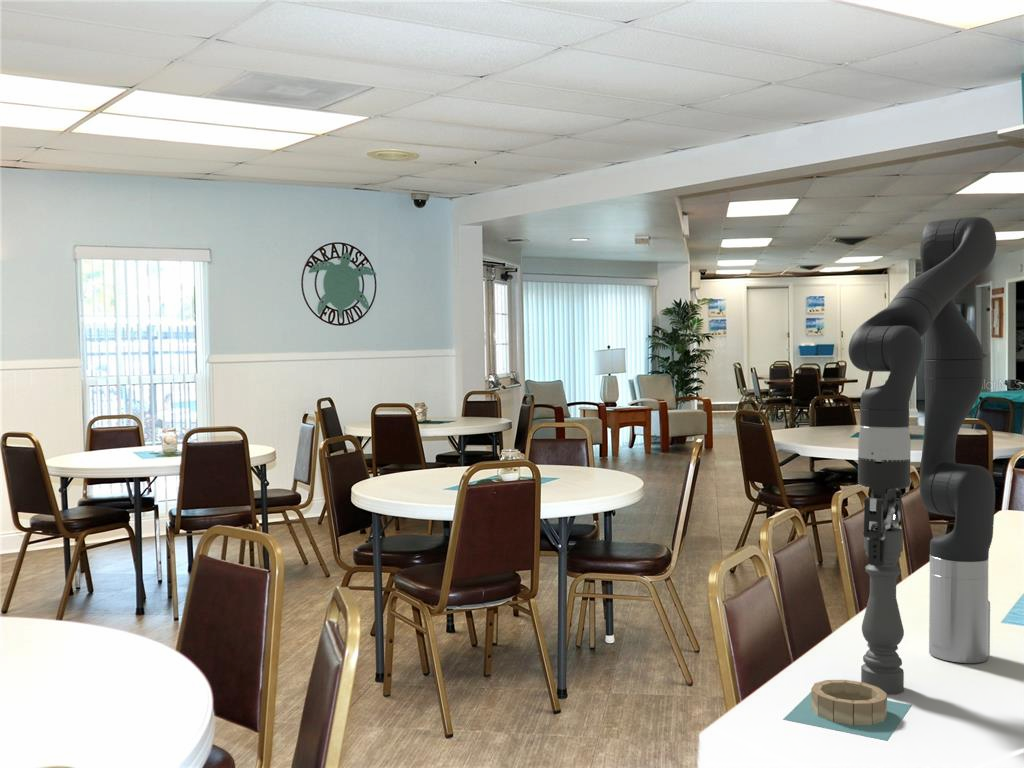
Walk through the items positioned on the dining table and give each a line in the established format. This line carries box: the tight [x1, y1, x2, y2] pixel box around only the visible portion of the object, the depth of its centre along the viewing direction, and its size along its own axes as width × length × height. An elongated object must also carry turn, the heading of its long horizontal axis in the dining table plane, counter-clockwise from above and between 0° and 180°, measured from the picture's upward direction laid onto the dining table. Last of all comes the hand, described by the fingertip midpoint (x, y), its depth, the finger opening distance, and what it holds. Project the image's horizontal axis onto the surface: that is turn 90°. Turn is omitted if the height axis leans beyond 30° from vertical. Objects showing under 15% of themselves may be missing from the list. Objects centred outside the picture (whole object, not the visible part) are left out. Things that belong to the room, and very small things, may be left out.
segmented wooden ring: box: [810, 679, 888, 725], centre depth 139 cm, size 10×10×3 cm
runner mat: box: [782, 691, 913, 742], centre depth 139 cm, size 16×14×1 cm
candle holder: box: [860, 527, 905, 696], centre depth 149 cm, size 6×6×25 cm
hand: (882, 560), depth 149 cm, fingers open, 8 cm apart
